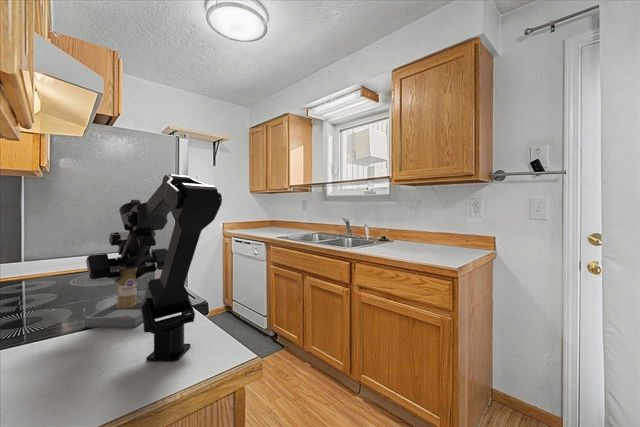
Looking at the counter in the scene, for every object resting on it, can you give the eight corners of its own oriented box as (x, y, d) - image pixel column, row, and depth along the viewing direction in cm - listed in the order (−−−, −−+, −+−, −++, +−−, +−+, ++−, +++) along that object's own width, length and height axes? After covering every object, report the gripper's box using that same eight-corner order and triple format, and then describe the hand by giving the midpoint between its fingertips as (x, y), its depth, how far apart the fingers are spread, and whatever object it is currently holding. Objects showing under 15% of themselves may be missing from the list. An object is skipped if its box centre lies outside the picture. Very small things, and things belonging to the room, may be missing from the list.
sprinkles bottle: (124, 309, 77) (124, 260, 77) (113, 307, 79) (113, 259, 79) (140, 304, 81) (140, 257, 81) (129, 302, 83) (129, 256, 83)
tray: (135, 327, 74) (135, 318, 74) (84, 327, 74) (84, 317, 74) (162, 309, 87) (162, 301, 87) (119, 309, 87) (119, 301, 87)
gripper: (167, 221, 84) (153, 254, 92) (87, 223, 70) (78, 262, 77) (179, 250, 79) (163, 283, 86) (95, 258, 65) (85, 296, 72)
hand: (125, 280), depth 81 cm, fingers closed on sprinkles bottle, 4 cm apart
